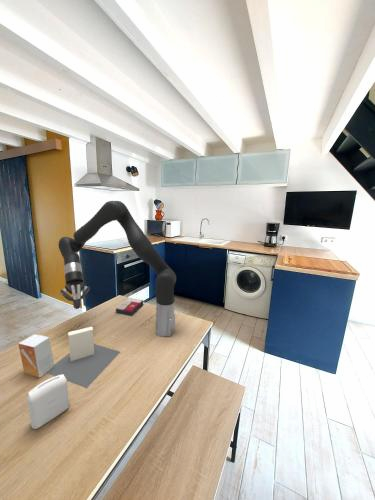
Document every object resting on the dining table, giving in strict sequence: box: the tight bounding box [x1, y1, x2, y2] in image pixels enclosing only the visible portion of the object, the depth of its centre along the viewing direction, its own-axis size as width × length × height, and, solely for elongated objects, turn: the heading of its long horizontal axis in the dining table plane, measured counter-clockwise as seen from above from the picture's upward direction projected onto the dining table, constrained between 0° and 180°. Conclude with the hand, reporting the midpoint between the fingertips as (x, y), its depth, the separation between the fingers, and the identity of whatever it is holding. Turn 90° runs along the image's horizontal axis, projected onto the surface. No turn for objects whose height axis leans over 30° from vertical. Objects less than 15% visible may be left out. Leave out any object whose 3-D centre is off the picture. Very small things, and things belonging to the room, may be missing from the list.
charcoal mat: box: [45, 343, 121, 389], centre depth 86 cm, size 20×20×1 cm
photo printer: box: [26, 374, 70, 430], centre depth 63 cm, size 10×4×12 cm, turn 140°
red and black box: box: [115, 297, 144, 317], centre depth 131 cm, size 11×4×15 cm
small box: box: [17, 333, 55, 379], centre depth 79 cm, size 8×6×13 cm
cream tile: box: [67, 326, 95, 361], centre depth 88 cm, size 2×9×12 cm, turn 122°
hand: (77, 308), depth 94 cm, fingers closed
